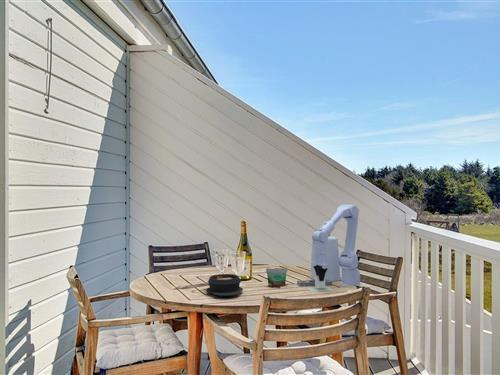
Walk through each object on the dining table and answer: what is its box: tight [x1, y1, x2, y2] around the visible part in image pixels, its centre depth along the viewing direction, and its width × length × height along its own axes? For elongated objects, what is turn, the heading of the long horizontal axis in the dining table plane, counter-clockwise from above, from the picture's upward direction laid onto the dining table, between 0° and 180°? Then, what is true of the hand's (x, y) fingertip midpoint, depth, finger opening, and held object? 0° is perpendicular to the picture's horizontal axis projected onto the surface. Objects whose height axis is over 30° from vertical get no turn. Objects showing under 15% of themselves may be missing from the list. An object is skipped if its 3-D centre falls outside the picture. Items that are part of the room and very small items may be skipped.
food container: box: [265, 266, 289, 288], centre depth 211 cm, size 12×6×10 cm, turn 105°
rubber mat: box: [307, 286, 334, 292], centre depth 203 cm, size 12×8×1 cm, turn 98°
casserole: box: [205, 273, 244, 297], centre depth 197 cm, size 25×19×8 cm
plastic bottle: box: [310, 233, 342, 282], centre depth 229 cm, size 15×15×28 cm
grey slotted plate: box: [296, 279, 333, 288], centre depth 213 cm, size 18×6×3 cm, turn 98°
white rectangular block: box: [314, 275, 326, 288], centre depth 203 cm, size 4×3×6 cm, turn 98°
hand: (320, 280), depth 203 cm, fingers closed on white rectangular block, 3 cm apart
